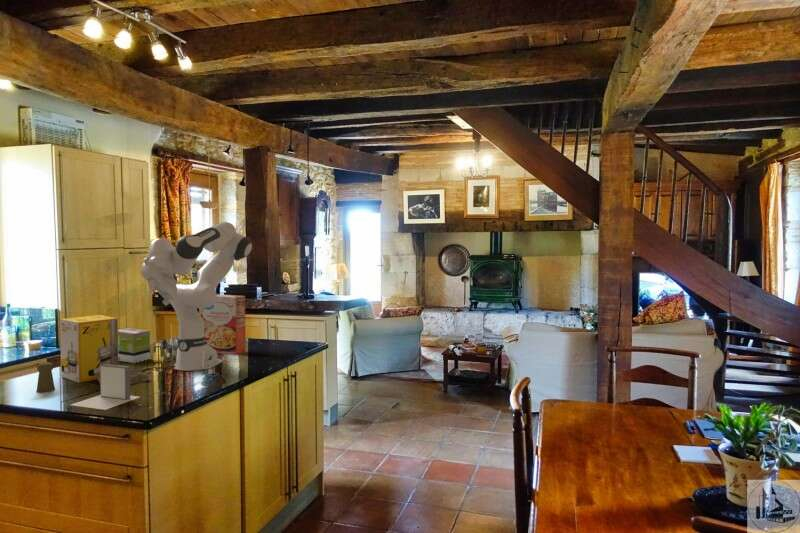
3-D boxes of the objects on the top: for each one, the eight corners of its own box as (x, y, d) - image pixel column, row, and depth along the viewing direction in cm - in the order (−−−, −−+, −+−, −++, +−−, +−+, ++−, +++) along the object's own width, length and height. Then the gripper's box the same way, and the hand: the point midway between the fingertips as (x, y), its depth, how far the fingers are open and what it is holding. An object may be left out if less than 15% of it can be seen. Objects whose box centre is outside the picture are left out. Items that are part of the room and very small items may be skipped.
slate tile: (104, 395, 198) (104, 363, 197) (130, 398, 194) (129, 366, 194) (100, 396, 196) (99, 365, 195) (125, 400, 193) (125, 367, 192)
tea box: (111, 360, 257) (110, 330, 256) (128, 356, 266) (128, 327, 266) (133, 363, 251) (133, 332, 251) (151, 359, 261) (150, 329, 260)
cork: (42, 388, 208) (41, 361, 207) (58, 388, 209) (57, 360, 208) (32, 393, 202) (32, 364, 201) (49, 392, 202) (48, 364, 202)
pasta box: (199, 351, 279) (199, 295, 278) (209, 348, 287) (209, 294, 286) (235, 355, 272) (235, 297, 271) (245, 352, 280) (245, 295, 278)
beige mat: (107, 394, 201) (106, 392, 201) (140, 398, 197) (140, 396, 197) (69, 406, 186) (69, 404, 186) (105, 411, 181) (105, 409, 181)
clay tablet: (87, 383, 217) (121, 388, 209) (87, 371, 217) (121, 376, 209) (118, 376, 230) (151, 381, 222) (118, 365, 230) (151, 369, 222)
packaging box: (118, 374, 230) (118, 318, 229) (79, 382, 217) (78, 322, 216) (100, 369, 239) (99, 314, 238) (61, 376, 226) (59, 319, 225)
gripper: (153, 252, 204) (152, 279, 195) (179, 282, 220) (180, 308, 211) (137, 257, 203) (136, 285, 195) (165, 287, 219) (165, 313, 211)
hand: (159, 297), depth 203 cm, fingers open, 8 cm apart
